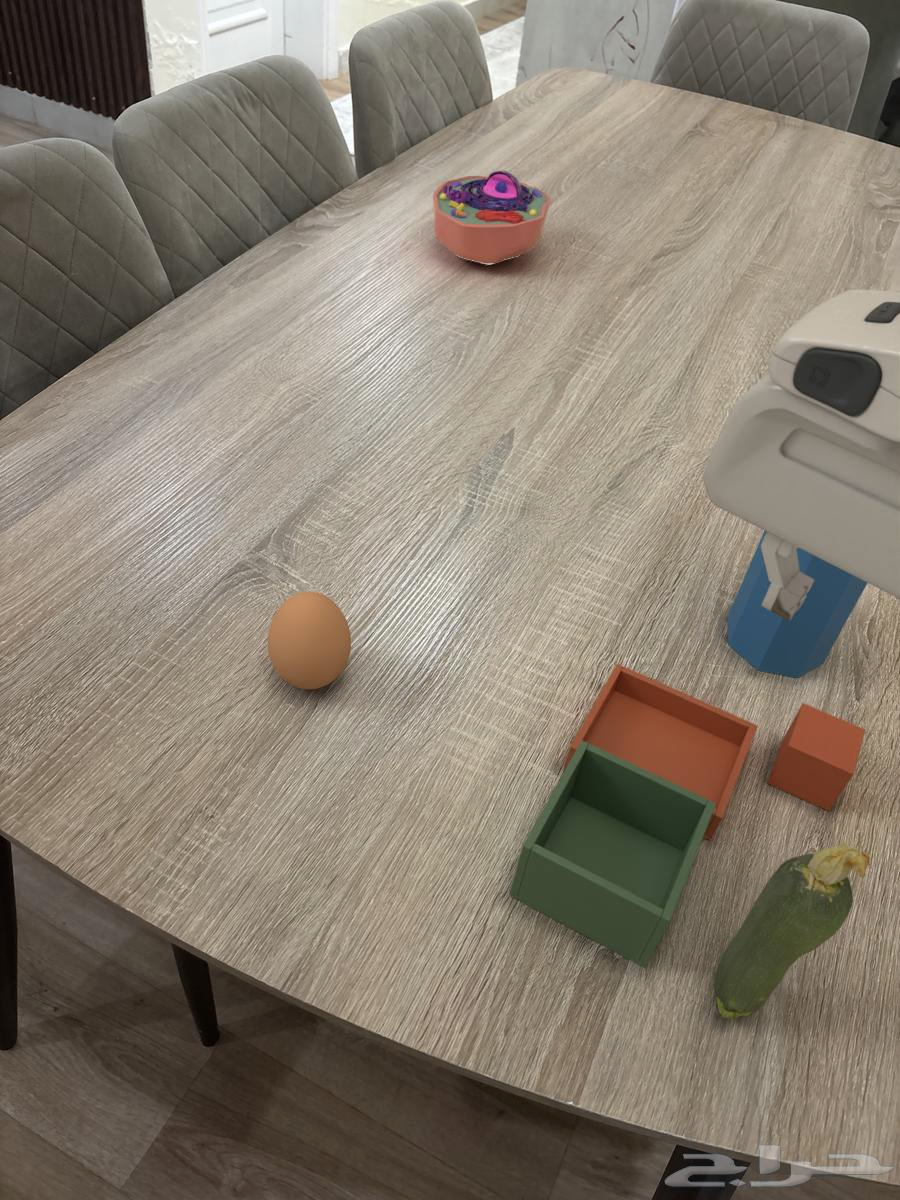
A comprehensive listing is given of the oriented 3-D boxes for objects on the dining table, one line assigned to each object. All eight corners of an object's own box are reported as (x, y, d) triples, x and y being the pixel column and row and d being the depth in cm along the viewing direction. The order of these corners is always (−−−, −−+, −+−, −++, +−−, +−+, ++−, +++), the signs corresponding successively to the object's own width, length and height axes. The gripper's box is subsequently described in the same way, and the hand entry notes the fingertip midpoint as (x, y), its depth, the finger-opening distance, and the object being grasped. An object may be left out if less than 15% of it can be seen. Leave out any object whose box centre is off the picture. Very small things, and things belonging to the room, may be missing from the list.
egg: (338, 715, 76) (340, 637, 69) (258, 700, 76) (253, 620, 70) (358, 657, 80) (361, 578, 74) (283, 642, 81) (280, 563, 74)
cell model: (399, 257, 138) (404, 178, 130) (474, 219, 150) (483, 145, 143) (496, 296, 132) (507, 215, 124) (565, 253, 144) (579, 177, 137)
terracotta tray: (746, 748, 77) (758, 725, 75) (710, 840, 70) (722, 818, 68) (609, 686, 81) (617, 663, 79) (563, 769, 74) (570, 746, 72)
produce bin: (691, 852, 70) (716, 803, 65) (645, 968, 63) (670, 921, 58) (565, 791, 72) (581, 739, 68) (508, 895, 66) (522, 845, 61)
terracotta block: (841, 767, 77) (866, 729, 73) (829, 811, 73) (854, 774, 70) (781, 740, 78) (803, 702, 75) (766, 783, 75) (788, 745, 71)
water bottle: (807, 694, 82) (937, 461, 65) (708, 646, 85) (807, 411, 68) (837, 634, 88) (963, 405, 71) (744, 591, 91) (843, 362, 74)
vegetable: (696, 964, 63) (802, 793, 50) (759, 968, 64) (882, 800, 50) (708, 1031, 60) (824, 868, 46) (774, 1035, 60) (909, 875, 47)
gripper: (1364, 490, 32) (1124, 741, 41) (805, 278, 40) (713, 528, 50) (1354, 579, 28) (1093, 833, 38) (739, 325, 36) (653, 586, 46)
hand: (873, 657), depth 44 cm, fingers open, 8 cm apart
